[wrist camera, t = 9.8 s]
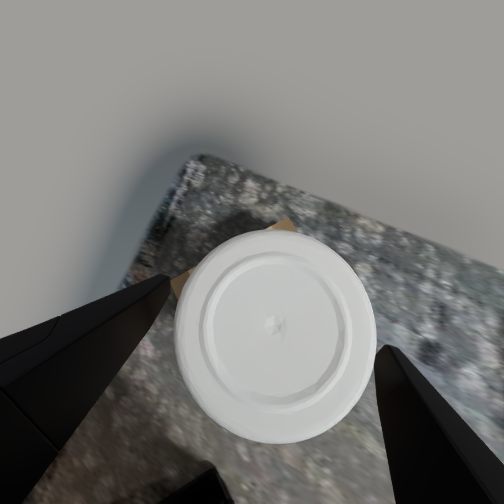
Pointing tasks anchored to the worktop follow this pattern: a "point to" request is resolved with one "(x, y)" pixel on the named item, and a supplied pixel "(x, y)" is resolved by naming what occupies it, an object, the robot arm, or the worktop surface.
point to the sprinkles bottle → (274, 336)
